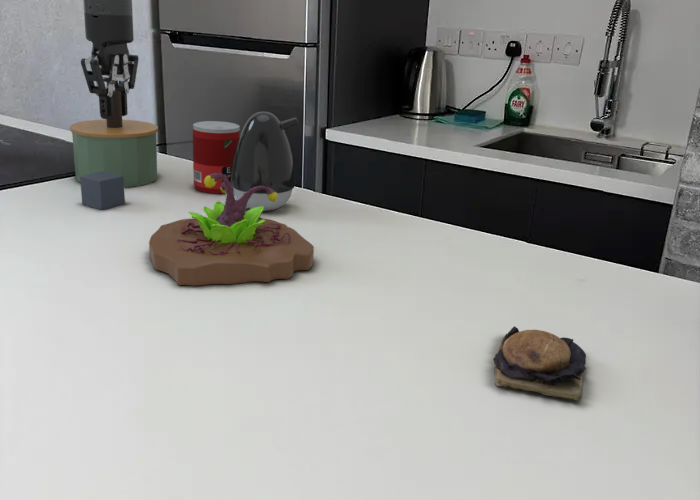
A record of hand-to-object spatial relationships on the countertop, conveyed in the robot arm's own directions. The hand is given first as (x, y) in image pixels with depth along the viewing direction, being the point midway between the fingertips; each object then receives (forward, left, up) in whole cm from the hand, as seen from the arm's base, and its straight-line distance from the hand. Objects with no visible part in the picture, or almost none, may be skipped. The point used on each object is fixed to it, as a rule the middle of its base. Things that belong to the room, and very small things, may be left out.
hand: (114, 116), depth 117 cm
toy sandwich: (+13, -84, -11) cm, 86 cm away
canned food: (+13, -13, -11) cm, 21 cm away
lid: (0, 0, -2) cm, 2 cm away
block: (-7, -15, -11) cm, 20 cm away
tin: (0, 0, -11) cm, 11 cm away
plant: (0, -44, -11) cm, 45 cm away
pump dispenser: (+15, -26, -11) cm, 32 cm away
